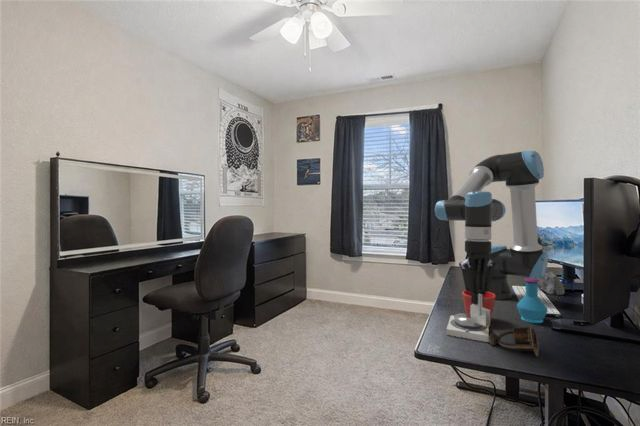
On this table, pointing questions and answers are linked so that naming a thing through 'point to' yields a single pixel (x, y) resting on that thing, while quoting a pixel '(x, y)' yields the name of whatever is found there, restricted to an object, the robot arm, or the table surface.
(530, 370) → the table surface
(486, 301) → the flower pot
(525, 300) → the perfume bottle
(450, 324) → the dial housing
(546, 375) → the table surface
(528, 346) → the brown piece
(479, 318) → the dial
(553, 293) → the mineral rock
